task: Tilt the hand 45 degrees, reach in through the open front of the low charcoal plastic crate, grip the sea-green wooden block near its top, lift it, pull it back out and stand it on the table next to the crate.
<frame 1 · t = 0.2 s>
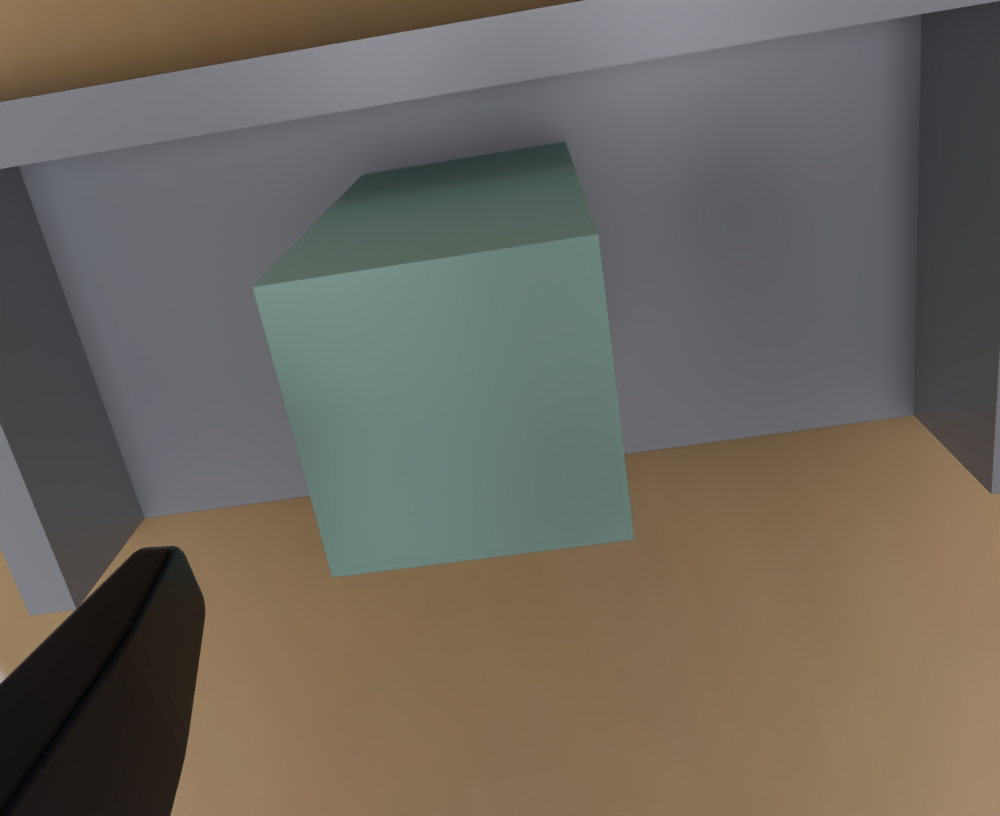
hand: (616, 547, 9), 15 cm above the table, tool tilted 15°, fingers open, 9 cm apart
open crate: (481, 252, 24), on the table
green block: (480, 258, 23), point 1 cm above the table, touching open crate
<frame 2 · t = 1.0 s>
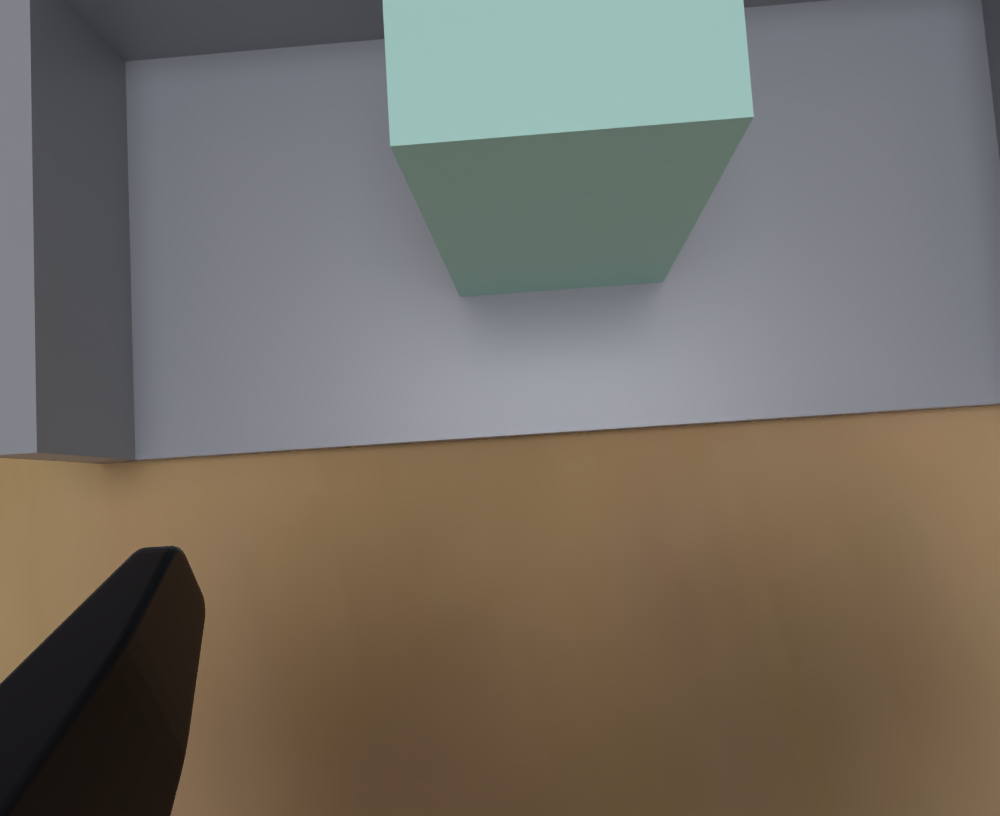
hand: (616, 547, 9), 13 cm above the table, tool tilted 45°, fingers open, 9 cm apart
open crate: (554, 198, 23), on the table
green block: (554, 190, 23), point 1 cm above the table, touching open crate
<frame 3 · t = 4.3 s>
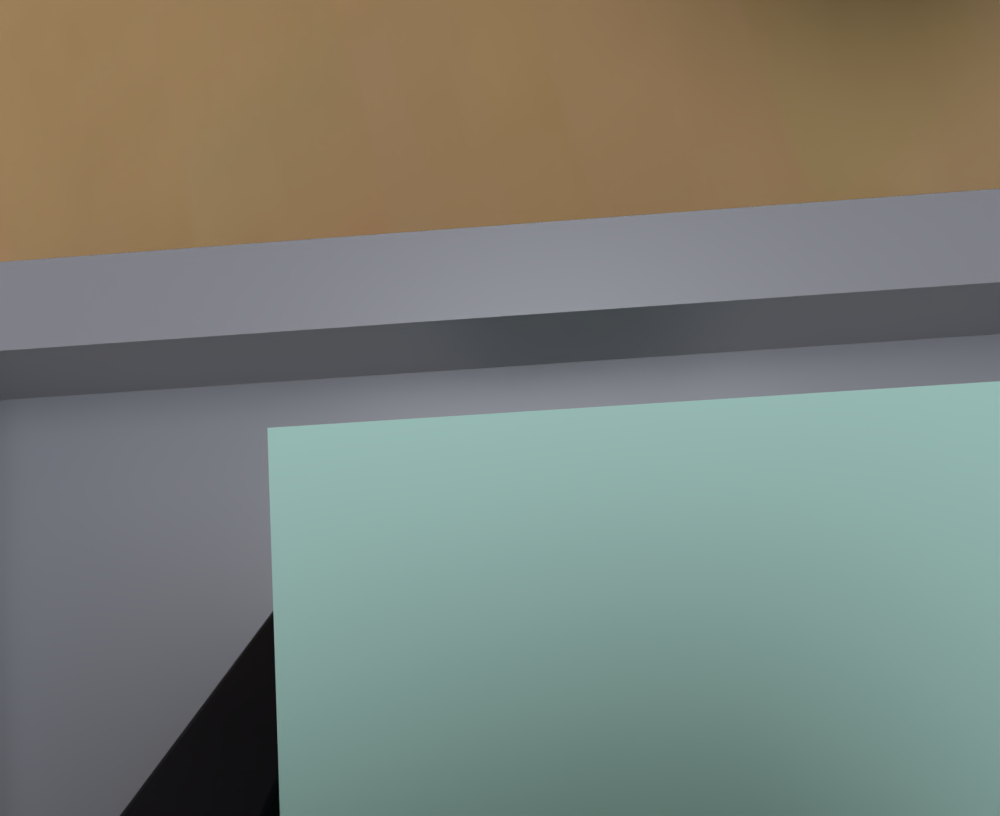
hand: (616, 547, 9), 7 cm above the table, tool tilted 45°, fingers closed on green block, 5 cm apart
open crate: (593, 606, 16), on the table
green block: (594, 610, 16), point 1 cm above the table, touching gripper, open crate
when the fingers open (8 cm above the table, at t = 10.2 s): green block drops 1 cm, on the table.
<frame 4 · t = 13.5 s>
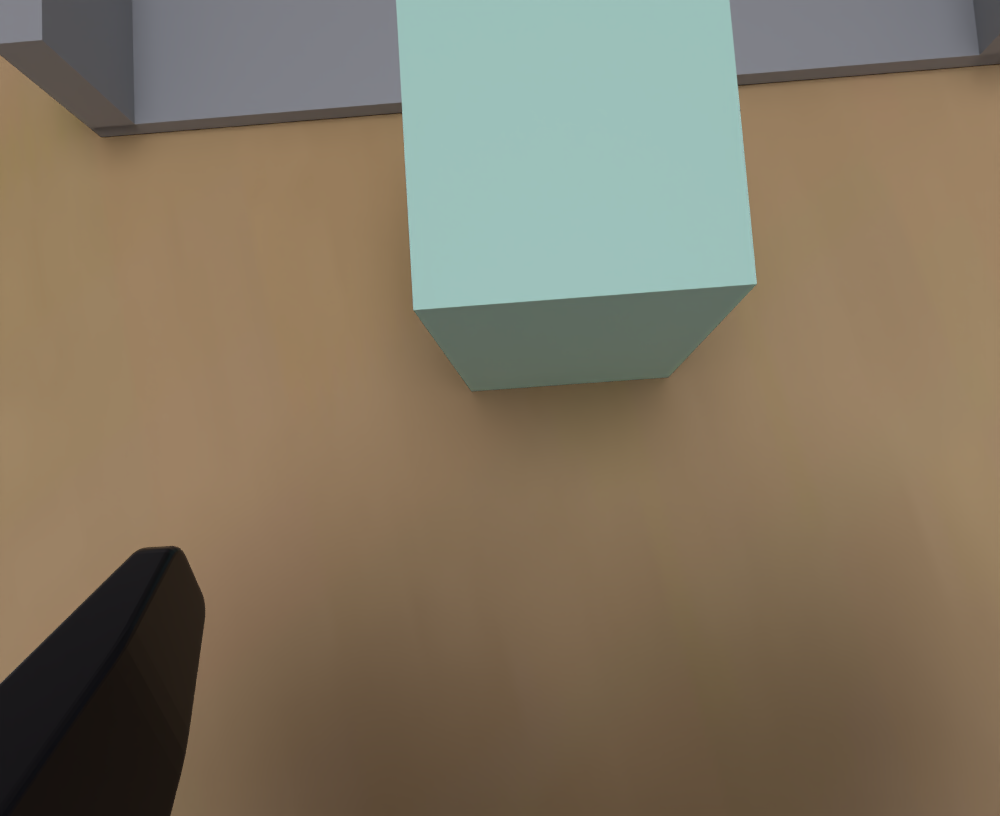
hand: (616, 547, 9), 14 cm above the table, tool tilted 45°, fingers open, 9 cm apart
green block: (562, 288, 24), on the table
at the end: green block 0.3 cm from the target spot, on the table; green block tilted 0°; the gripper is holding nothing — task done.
